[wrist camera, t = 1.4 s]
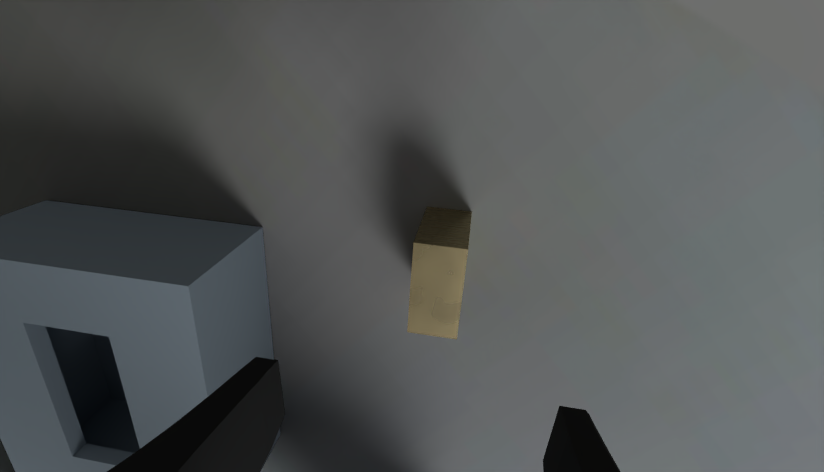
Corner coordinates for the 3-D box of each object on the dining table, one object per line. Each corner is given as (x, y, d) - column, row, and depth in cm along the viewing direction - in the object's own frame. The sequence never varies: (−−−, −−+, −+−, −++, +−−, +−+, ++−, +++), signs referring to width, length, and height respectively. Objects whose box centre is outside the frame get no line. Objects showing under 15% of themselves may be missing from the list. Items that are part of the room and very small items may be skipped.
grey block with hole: (280, 433, 27) (230, 527, 22) (106, 401, 28) (20, 482, 23) (262, 227, 21) (188, 286, 16) (46, 200, 23) (-88, 246, 17)
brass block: (462, 288, 21) (456, 339, 17) (421, 283, 21) (407, 332, 17) (471, 211, 19) (467, 249, 16) (427, 206, 19) (413, 242, 16)
